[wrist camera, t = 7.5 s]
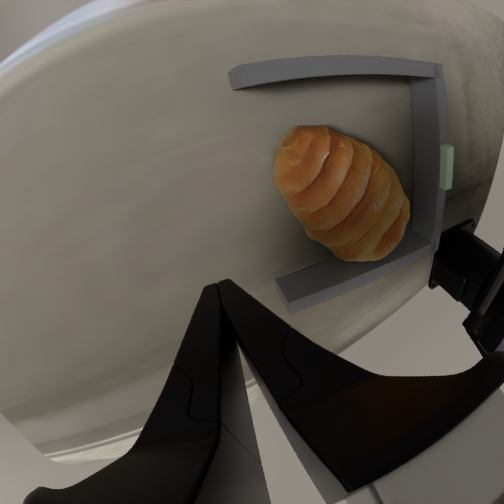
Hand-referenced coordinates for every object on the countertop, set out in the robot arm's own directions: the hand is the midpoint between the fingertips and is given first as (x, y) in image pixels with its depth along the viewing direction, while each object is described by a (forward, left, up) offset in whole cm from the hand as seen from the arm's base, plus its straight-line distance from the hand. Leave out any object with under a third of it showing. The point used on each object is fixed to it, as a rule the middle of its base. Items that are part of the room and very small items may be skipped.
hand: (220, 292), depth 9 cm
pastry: (-8, +1, -8) cm, 11 cm away
